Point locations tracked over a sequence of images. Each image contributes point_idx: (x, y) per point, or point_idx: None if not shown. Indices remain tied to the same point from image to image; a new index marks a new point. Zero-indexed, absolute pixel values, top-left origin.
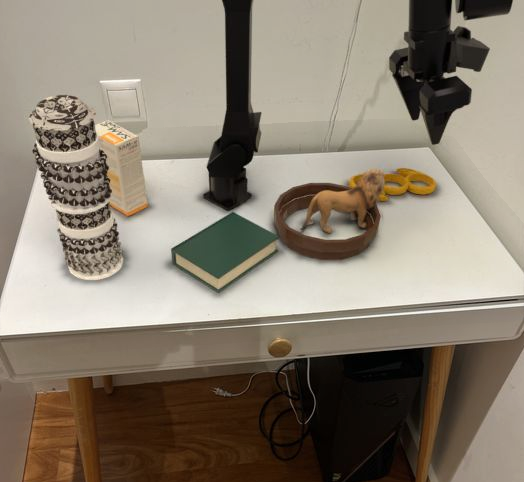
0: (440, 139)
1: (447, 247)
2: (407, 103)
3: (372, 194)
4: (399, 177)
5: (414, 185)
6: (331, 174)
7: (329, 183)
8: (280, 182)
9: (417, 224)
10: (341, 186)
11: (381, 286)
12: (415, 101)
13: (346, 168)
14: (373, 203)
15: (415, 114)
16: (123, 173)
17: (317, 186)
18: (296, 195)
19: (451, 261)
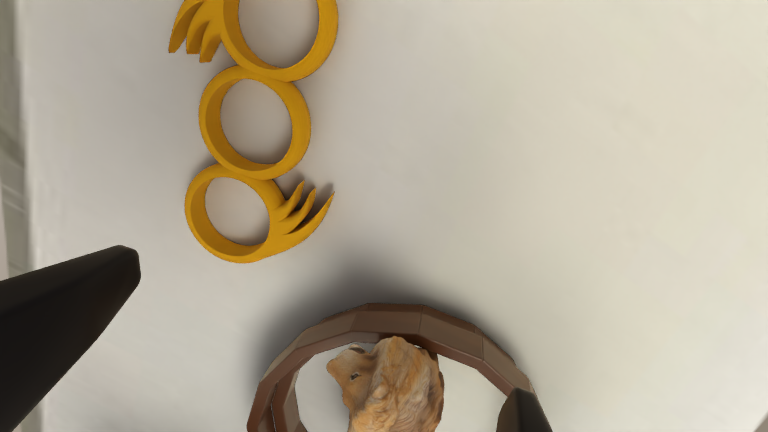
0: (549, 425)
1: (644, 155)
2: (31, 406)
3: (436, 416)
4: (228, 83)
5: (297, 67)
6: (150, 254)
7: (263, 387)
8: (168, 388)
9: (484, 169)
10: (288, 367)
11: (677, 424)
12: (12, 362)
13: (123, 195)
14: (440, 380)
15: (109, 294)
16: None
17: (263, 411)
18: None
19: (713, 191)
